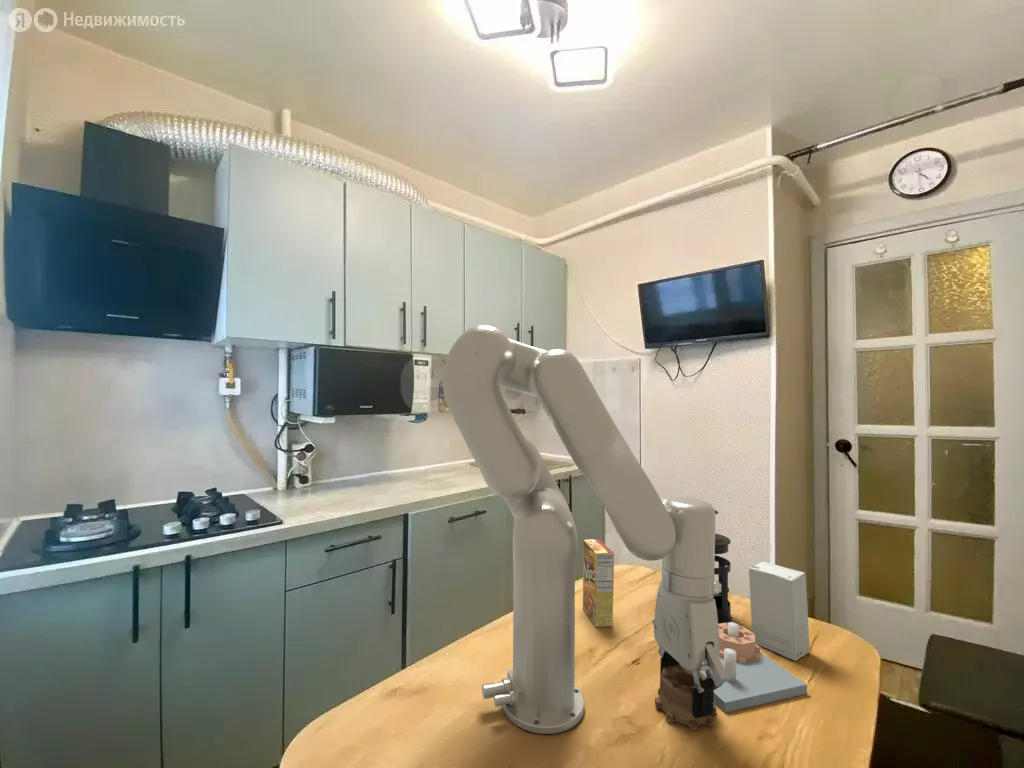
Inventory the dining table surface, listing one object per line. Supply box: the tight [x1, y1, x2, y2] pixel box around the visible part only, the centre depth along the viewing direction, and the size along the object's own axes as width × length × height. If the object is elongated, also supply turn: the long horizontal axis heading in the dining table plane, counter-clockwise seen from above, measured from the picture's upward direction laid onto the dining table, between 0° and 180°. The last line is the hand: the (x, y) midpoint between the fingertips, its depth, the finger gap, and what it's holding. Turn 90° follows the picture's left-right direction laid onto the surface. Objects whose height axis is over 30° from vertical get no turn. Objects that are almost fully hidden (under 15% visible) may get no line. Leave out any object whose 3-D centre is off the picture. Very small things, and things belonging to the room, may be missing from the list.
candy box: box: [582, 538, 615, 628], centre depth 99 cm, size 9×4×15 cm, turn 9°
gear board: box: [680, 621, 808, 713], centre depth 79 cm, size 16×16×6 cm
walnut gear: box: [654, 665, 717, 731], centre depth 70 cm, size 8×8×4 cm
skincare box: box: [748, 561, 811, 662], centre depth 87 cm, size 8×6×15 cm
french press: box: [713, 509, 733, 624], centre depth 99 cm, size 12×9×23 cm
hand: (685, 697), depth 70 cm, fingers closed on walnut gear, 7 cm apart
